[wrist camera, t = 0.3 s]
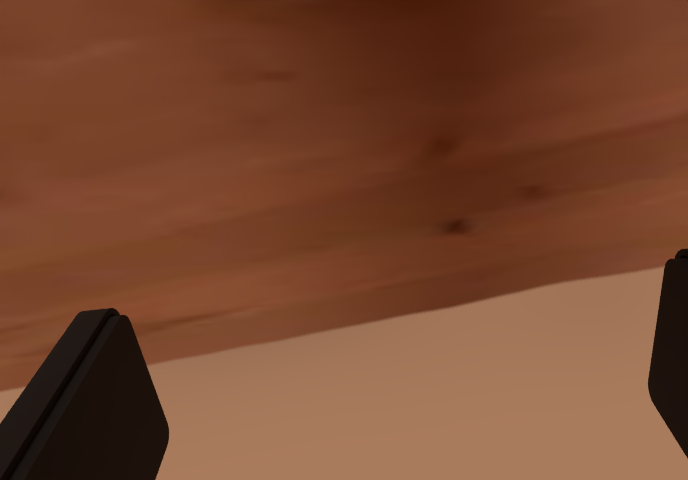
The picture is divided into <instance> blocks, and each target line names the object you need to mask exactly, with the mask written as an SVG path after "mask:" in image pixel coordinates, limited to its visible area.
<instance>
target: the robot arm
mask: <svg viewBox="0 0 688 480" xmlns="http://www.w3.org/2000/svg"><path fill="white" fill-rule="evenodd" d="M648 389H649V394H650V397H651V400H652V402H653V403H654V405H655V407H656V409H657V410H658V412H659V413H660V415H661V416H662V418H663V420H664V421H665V423H666V425H667V426H668V428H669V429H670V431H671V432H672V434H673V436H674V437H675V439H676V440H677V442H678V444H679V445H680V447H681V448H682V450H683V452H684V453H685V455H686V456H687V458H688V249H681V250H680V251H678V252H677V254H676V256H675V259H669V260H668V261H667V262H666V264H665V268H664V276H663V282H662V289H661V296H660V303H659V310H658V317H657V323H656V330H655V337H654V345H653V351H652V358H651V366H650V372H649V379H648ZM168 440H169V427H168V423H167V421H166V418H165V415H164V412H163V410H162V407H161V404H160V401H159V399H158V396H157V393H156V390H155V388H154V385H153V382H152V380H151V377H150V374H149V371H148V368H147V366H146V363H145V360H144V357H143V355H142V352H141V349H140V347H139V344H138V341H137V338H136V336H135V333H134V330H133V327H132V325H131V322H130V320H129V318H128V317H127V316H125V315H120V314H119V312H118V311H117V310H116V309H113V308H108V309H99V310H89V311H82V312H80V313H79V314H77V315H76V317H75V318H74V320H73V321H72V323H71V324H70V325H69V327H68V328H67V330H66V331H65V333H64V334H63V335H62V337H61V338H60V340H59V341H58V342H57V344H56V345H55V347H54V348H53V350H52V351H51V352H50V354H49V355H48V357H47V358H46V359H45V361H44V362H43V364H42V365H41V367H40V368H39V369H38V371H37V372H36V374H35V375H34V377H33V378H32V379H31V381H30V382H29V384H28V385H27V386H26V388H25V389H24V391H23V392H22V394H21V395H20V397H19V398H18V399H17V401H16V402H15V404H14V405H13V406H12V408H11V409H10V411H9V412H8V413H7V415H6V417H5V418H4V419H3V421H2V422H1V424H0V480H155V479H156V476H157V473H158V471H159V467H160V465H161V462H162V459H163V456H164V454H165V451H166V448H167V444H168Z"/></svg>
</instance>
